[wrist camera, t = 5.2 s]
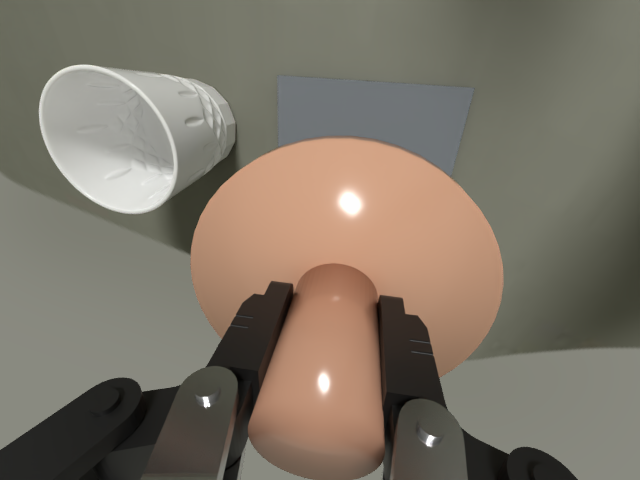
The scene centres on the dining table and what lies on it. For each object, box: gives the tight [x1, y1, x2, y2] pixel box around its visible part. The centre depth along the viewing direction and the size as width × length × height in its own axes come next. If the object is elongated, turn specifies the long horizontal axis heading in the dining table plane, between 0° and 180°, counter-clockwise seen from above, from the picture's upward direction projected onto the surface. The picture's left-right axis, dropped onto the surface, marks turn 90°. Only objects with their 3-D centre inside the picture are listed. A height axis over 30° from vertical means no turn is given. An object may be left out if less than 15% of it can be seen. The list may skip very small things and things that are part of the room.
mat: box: [277, 75, 475, 177], centre depth 25 cm, size 14×14×1 cm
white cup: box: [39, 65, 236, 214], centre depth 21 cm, size 8×8×10 cm
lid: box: [191, 136, 503, 480], centre depth 9 cm, size 11×11×6 cm
